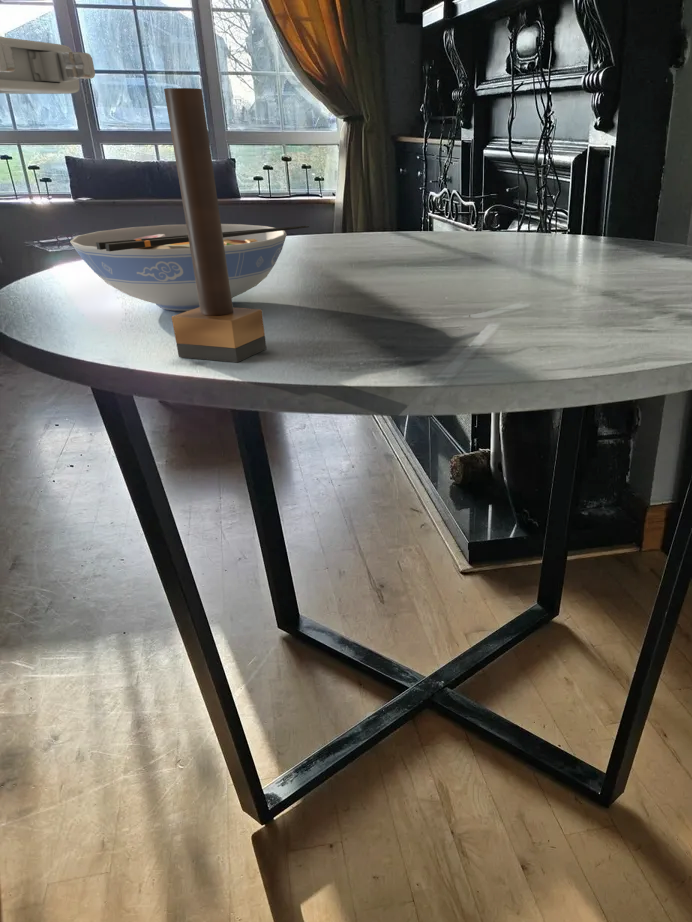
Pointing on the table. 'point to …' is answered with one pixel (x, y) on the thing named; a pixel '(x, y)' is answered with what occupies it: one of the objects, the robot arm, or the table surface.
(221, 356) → the brush
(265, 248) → the ramen bowl
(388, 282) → the table surface
